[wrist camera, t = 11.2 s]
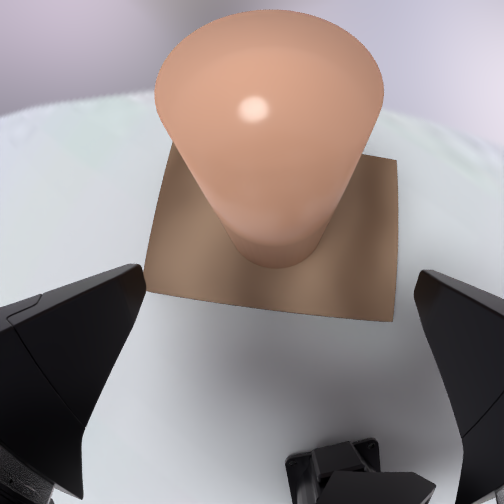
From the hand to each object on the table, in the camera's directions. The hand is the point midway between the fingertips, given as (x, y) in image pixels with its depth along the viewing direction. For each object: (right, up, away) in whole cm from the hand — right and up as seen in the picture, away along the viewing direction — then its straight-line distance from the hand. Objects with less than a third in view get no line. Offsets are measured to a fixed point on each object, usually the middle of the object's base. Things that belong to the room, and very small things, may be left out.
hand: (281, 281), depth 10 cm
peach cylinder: (+1, +3, +10) cm, 11 cm away
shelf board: (+1, +2, +12) cm, 12 cm away
